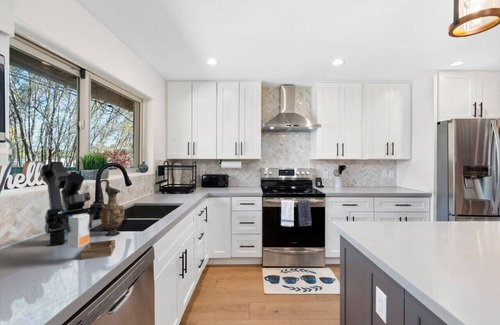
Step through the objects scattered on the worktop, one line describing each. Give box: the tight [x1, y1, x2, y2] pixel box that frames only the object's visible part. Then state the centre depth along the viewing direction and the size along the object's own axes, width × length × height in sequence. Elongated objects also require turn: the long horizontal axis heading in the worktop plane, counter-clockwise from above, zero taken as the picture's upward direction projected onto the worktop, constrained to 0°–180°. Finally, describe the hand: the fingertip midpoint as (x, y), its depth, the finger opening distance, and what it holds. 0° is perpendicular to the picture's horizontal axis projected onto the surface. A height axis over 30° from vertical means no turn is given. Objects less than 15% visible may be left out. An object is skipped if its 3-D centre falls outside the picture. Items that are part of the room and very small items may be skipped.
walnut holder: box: [80, 239, 116, 261], centre depth 104 cm, size 11×11×4 cm
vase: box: [97, 179, 125, 237], centre depth 131 cm, size 12×12×30 cm
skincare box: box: [67, 213, 90, 249], centre depth 97 cm, size 6×4×12 cm
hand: (80, 229), depth 96 cm, fingers closed on skincare box, 7 cm apart
